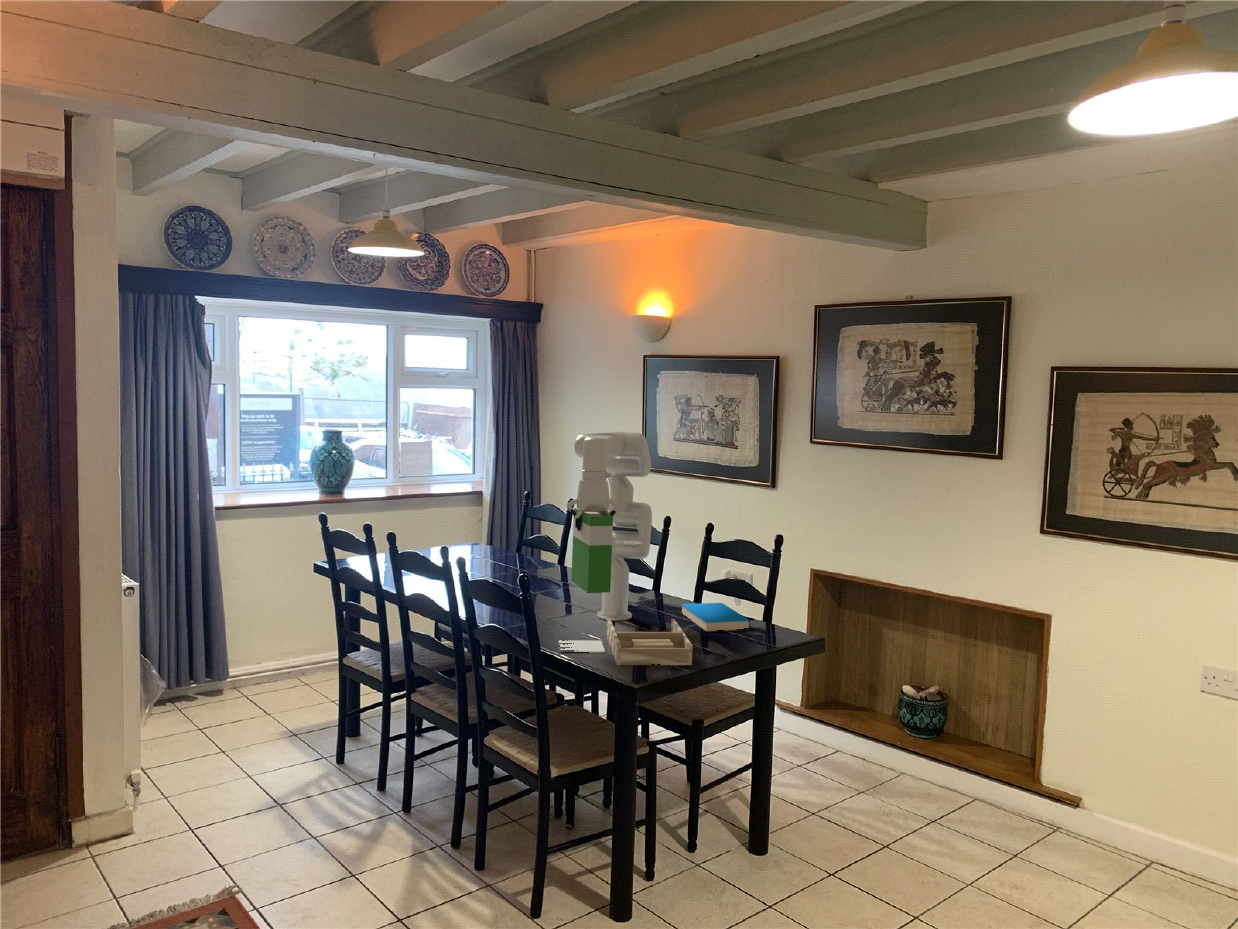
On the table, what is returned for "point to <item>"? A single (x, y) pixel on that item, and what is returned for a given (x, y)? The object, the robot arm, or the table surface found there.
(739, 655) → the table surface
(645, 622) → the table surface
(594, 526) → the hardback book
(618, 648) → the rack
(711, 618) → the book
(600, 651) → the mat
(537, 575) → the table surface
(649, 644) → the oak offcut
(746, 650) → the table surface
